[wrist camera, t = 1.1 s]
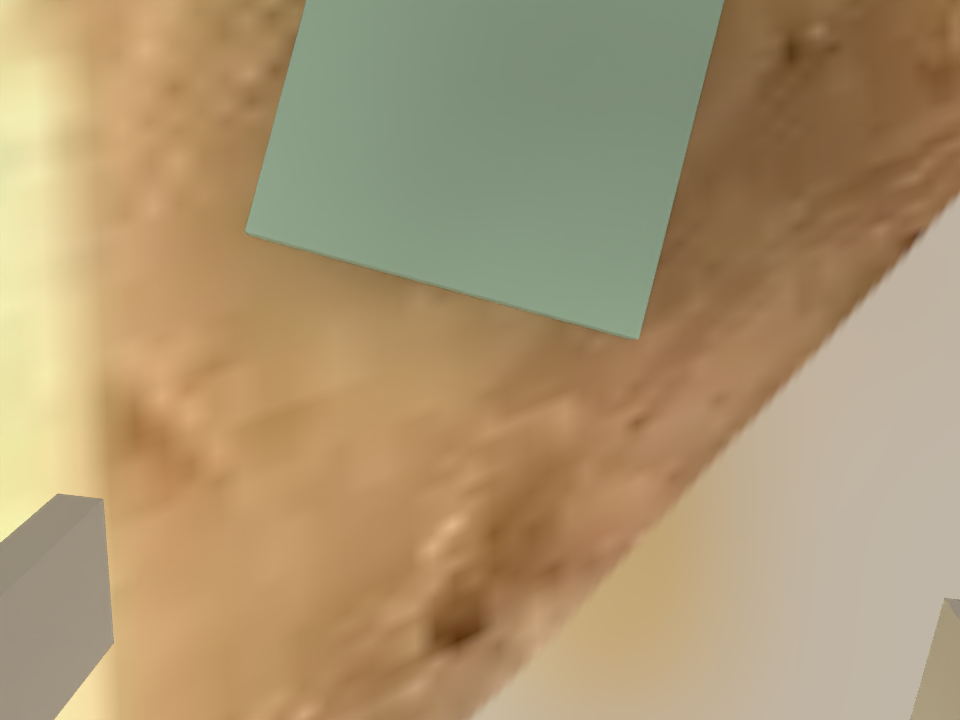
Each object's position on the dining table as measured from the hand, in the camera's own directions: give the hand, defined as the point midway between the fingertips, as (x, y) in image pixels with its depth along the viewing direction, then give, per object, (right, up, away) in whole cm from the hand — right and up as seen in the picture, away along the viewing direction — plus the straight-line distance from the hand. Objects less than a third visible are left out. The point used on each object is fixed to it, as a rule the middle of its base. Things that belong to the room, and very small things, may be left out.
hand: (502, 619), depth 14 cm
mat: (0, +13, +18) cm, 22 cm away
